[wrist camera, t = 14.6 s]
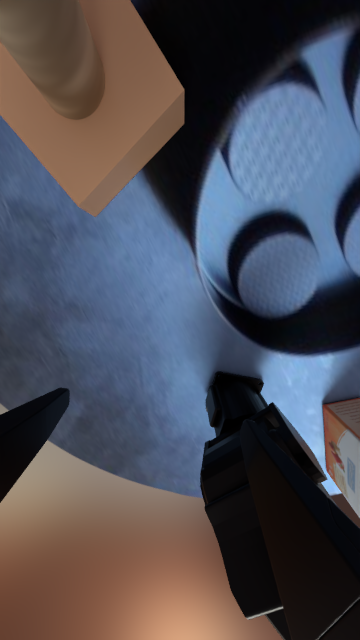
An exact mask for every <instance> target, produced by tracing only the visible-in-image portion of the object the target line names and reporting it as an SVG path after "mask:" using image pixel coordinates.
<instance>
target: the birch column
mask: <svg viewBox="0 0 360 640" xmlns="http://www.w3.org/2000/svg"><path fill="white" fill-rule="evenodd" d="M0 41H1V43H2V44H3V45H4V47H5V48H6V49H7V50H8V52H9V53H10V54H11V56H12V57H13V58H14V60H15V61H16V62H17V63H18V65H19V66H20V67H21V69H22V70H23V71H24V72H25V74H26V75H27V76H28V78H29V79H30V80H31V82H32V83H33V84H34V85H35V87H36V88H37V89H38V91H39V92H40V93H41V94H42V96H43V97H44V98H45V100H46V101H47V102H48V104H49V105H50V106H51V107H52V108H53V109H54V110H55V111H56V112H57V113H58V114H60V115H62V116H63V117H66V118H68V119H74V120H79V119H84V118H86V117H88V116H90V115H91V114H92V113H93V112H94V111H95V110H96V109H97V108H98V106H99V104H100V102H101V100H102V97H103V94H104V88H105V75H104V69H103V65H102V62H101V59H100V56H99V53H98V51H97V48H96V45H95V43H94V40H93V37H92V35H91V32H90V29H89V27H88V24H87V21H86V19H85V16H84V13H83V11H82V8H81V5H80V3H79V0H0Z"/></svg>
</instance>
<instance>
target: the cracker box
mask: <svg viewBox="0 0 360 640" xmlns="http://www.w3.org/2000/svg"><path fill="white" fill-rule="evenodd" d="M322 406H323V416H324V433H325V451H326V469H327V472H328V474H329V475H330V477H331V478H332V479H333V481H334V482H335V484H336V485H337V486H338V488H339V489H340V491H341V492H342V493H343V495H344V496H345V498H346V499H347V501H348V502H349V503H350V505H351V506H352V508H353V509H354V511H355V512H356V513H357V515H358V516H359V518H360V398H356V399H350V400H345V401H340V402H335V403H330V404H324V405H322Z"/></svg>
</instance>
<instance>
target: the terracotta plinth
mask: <svg viewBox="0 0 360 640" xmlns="http://www.w3.org/2000/svg"><path fill="white" fill-rule="evenodd" d="M79 3H80V5H81V8H82V11H83V13H84V16H85V19H86V21H87V24H88V27H89V29H90V32H91V35H92V37H93V40H94V43H95V45H96V48H97V51H98V53H99V56H100V59H101V62H102V65H103V69H104V75H105V88H104V94H103V97H102V100H101V102H100V104H99V106H98V108H97V109H96V110H95V111H94V112H93V113H92V114H91V115H90V116H88V117H86V118H84V119H79V120H74V119H68V118H66V117H63V116H62V115H60V114H58V113H57V112H56V111H55V110H54V109H53V108H52V107H51V106H50V105H49V104H48V102H47V101H46V100H45V98H44V97H43V96H42V94H41V93H40V92H39V91H38V89H37V88H36V87H35V85H34V84H33V83H32V82H31V80H30V79H29V78H28V76H27V75H26V74H25V72H24V71H23V70H22V69H21V67H20V66H19V65H18V63H17V62H16V61H15V60H14V58H13V57H12V56H11V54H10V53H9V52H8V50H7V49H6V48H5V47H4V45H3V44H2V43H1V41H0V115H1V116H2V117H3V118H4V120H5V121H6V122H7V123H8V124H9V125H10V127H11V128H12V129H13V130H14V131H15V133H16V134H17V135H18V136H19V137H20V138H21V140H22V141H23V142H24V143H25V144H26V145H27V147H28V148H29V149H30V150H31V151H32V153H33V154H34V155H35V156H36V157H37V158H38V160H39V161H40V162H41V163H42V164H43V166H44V167H45V168H46V169H47V170H48V171H49V173H50V174H51V175H52V176H53V177H54V178H55V180H56V181H57V182H58V183H59V184H60V186H61V187H62V188H63V189H64V190H65V191H66V193H67V194H68V195H69V196H70V197H71V198H72V200H73V201H74V202H75V203H76V204H77V206H78V207H80V208H81V209H83V210H85V211H86V212H88V213H90V214H91V215H93V216H94V217H96V216H97V215H98V214H99V213H100V212H101V211H102V210H103V209H104V208H105V207H106V206H107V204H108V203H109V202H110V201H111V200H112V199H113V198H114V197H115V196H116V195H117V194H118V193H119V192H120V191H121V190H122V189H123V188H124V187H125V186H126V184H127V183H128V182H129V181H130V180H131V179H132V178H133V177H134V176H135V175H136V174H137V173H138V172H139V171H140V170H141V169H142V168H143V167H144V166H145V164H146V163H147V162H148V161H149V160H150V159H151V158H152V157H153V156H154V155H155V154H156V153H157V152H158V151H159V150H160V149H161V148H162V147H163V146H164V144H165V143H166V142H167V141H168V140H169V139H170V138H171V137H172V136H173V135H174V134H175V133H176V132H177V131H178V130H179V129H180V128H181V127H182V125H183V124H184V88H183V87H182V85H181V83H180V82H179V80H178V78H177V77H176V75H175V73H174V72H173V70H172V69H171V67H170V65H169V64H168V62H167V60H166V59H165V57H164V55H163V54H162V52H161V50H160V49H159V47H158V45H157V44H156V42H155V40H154V39H153V37H152V36H151V34H150V32H149V31H148V29H147V27H146V26H145V24H144V22H143V21H142V19H141V17H140V16H139V14H138V12H137V11H136V9H135V7H134V6H133V4H132V3H131V1H130V0H79Z"/></svg>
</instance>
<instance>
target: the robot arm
mask: <svg viewBox="0 0 360 640" xmlns="http://www.w3.org/2000/svg"><path fill="white" fill-rule="evenodd" d="M218 375H221V376H218ZM259 382H260V383H259ZM258 383H259V384H258ZM263 385H264V383H263V381H262V380H261V379H258V378H252V377H247V376H241V375H236V374H230V373H225V372H217V373H216V374H215V377H214V381H213V384H212V385H211V386H210V388H209V391H208V395H207V398H206V411H207V412H208V417H209V422H210V426H211V427H214V428H215V433H216V438H214V439H213V440H211V441H210V440H209V441H207V442H205V447H204V454H203V461H202V469H201V474H200V475H201V477H200V483H201V485H200V487H201V491H202V495H203V499H204V502H205V511H206V513H207V516H208V518H209V520H210V522H211V524H212V526H213V529H214V532H215V535H216V537H217V540H218V543H219V546H220V550H221V553H222V557H223V561H224V565H225V569H226V573H227V577H228V581H229V585H230V588H231V591H232V593H233V595H234V597H235V599H236V601H237V603H238V605H239V607H240V609H241V610H242V612H243V614H244V616H245V617H246V618H247V619H249V620H250V619H253V618H255V617H259V616H262V615H265V616H266V617H267V619H268V620H269V621H270V622H271V624H272V625H273V627H274V628H275V629H276V630H277V632H278V633H279V634H280V636H281V637H282V638H283V640H360V528H358V526H357V525H355V524H354V523H353V521H352V520H350V519H349V518H348V516H347V515H346V514H345V513H344V512H342V511H341V509H340V508H339V507H338V506H337V505H336V504H335V503H334V501H333V500H332V498H331V497H330V495H329V494H328V492H327V491H326V489H325V488H324V486H323V485H322V484H321V482H323V481H325V480H327V477H326V475H325V474H324V472H323V470H322V468H321V466H320V464H319V463H318V461H317V459H316V457H315V455H314V453H313V452H312V451H311V449H310V448H309V446H308V445H307V444H306V442H305V441H304V440H303V438H302V437H301V436H300V434H299V433H298V432H297V430H296V429H295V428H294V427H293V425H292V424H291V423H290V422H289V421H288V419H287V418H286V417H285V416H284V415H283V413H282V412H281V411H280V410H279V409H278V408H277V406H276V405H275V404H274V403H273V402H272V403H270V404H269V406H268V405H267V403H266V401H265V400H264V398H263V397H262V395H261V393H260V392H261V390H262V387H263ZM69 396H70V391H69V389H67V388H58V389H56V390H54V391H51V392H49V393H47V394H45V395H43V396H40V397H38V398H36V399H34V400H32V401H30V402H27V403H25V404H23V405H21V406H19V407H16V408H14V409H12V410H10V411H8V412H6V413H3V414H1V415H0V503H1V501H2V500H3V499H4V497H5V496H6V495H7V493H8V492H9V491H10V489H11V488H12V487H13V485H14V484H15V483H16V481H17V480H18V478H19V477H20V476H21V475H22V473H23V472H24V470H25V469H26V468H27V467H28V465H29V464H30V462H31V461H32V460H33V458H34V457H35V456H36V454H37V453H38V452H39V450H40V449H41V448H42V446H43V445H44V444H45V442H46V441H47V439H48V438H49V436H50V435H51V433H52V432H53V430H54V428H55V427H56V425H57V424H58V422H59V420H60V419H61V417H62V416H63V414H64V412H65V411H66V409H67V407H68V405H69Z"/></svg>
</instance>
